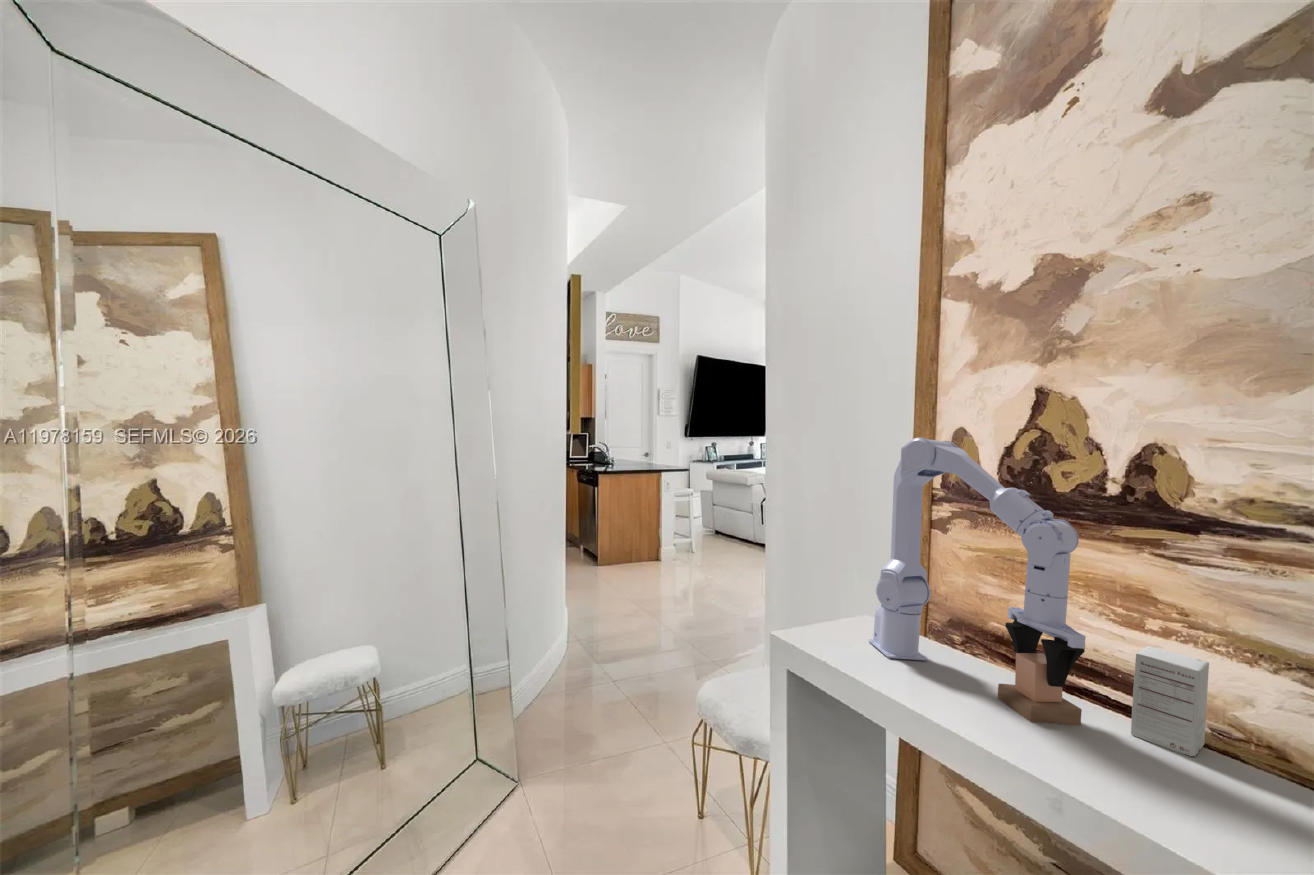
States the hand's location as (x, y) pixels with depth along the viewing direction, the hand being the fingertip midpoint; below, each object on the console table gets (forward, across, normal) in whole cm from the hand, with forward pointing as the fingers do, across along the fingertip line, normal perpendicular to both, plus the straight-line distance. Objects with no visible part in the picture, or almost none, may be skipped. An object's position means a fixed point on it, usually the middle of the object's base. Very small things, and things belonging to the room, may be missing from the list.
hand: (1039, 676), depth 90 cm
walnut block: (+6, 0, 0) cm, 6 cm away
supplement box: (+6, +7, +15) cm, 18 cm away
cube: (+3, 0, 0) cm, 3 cm away
